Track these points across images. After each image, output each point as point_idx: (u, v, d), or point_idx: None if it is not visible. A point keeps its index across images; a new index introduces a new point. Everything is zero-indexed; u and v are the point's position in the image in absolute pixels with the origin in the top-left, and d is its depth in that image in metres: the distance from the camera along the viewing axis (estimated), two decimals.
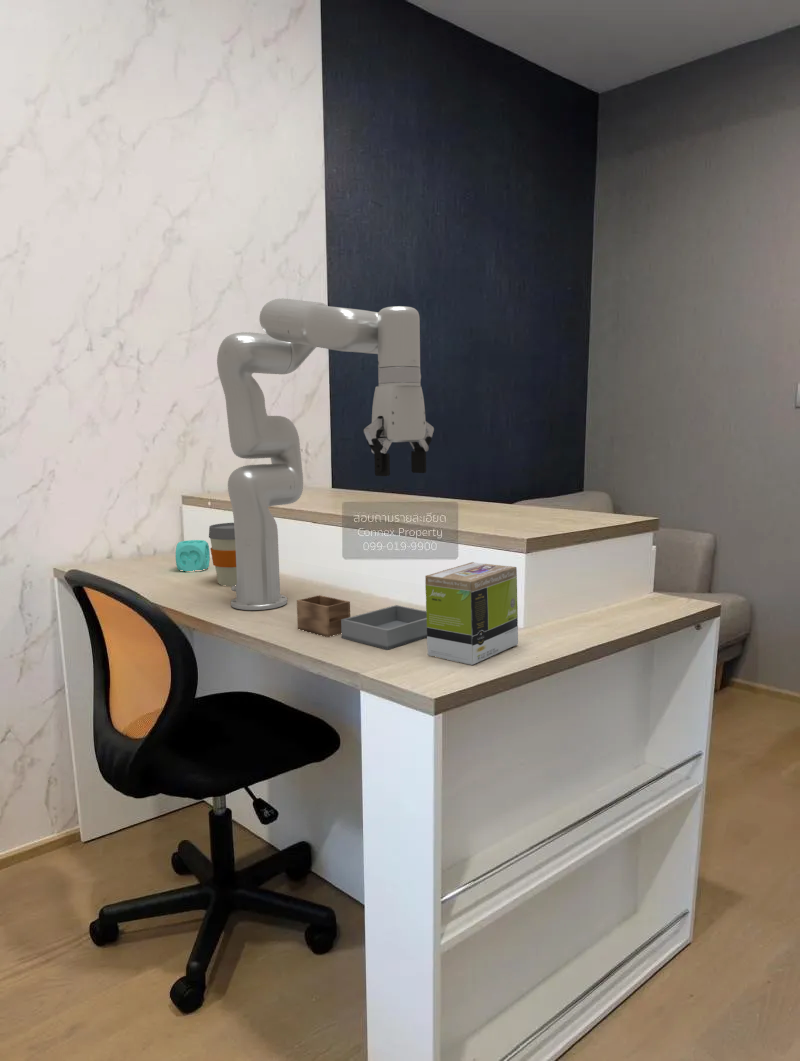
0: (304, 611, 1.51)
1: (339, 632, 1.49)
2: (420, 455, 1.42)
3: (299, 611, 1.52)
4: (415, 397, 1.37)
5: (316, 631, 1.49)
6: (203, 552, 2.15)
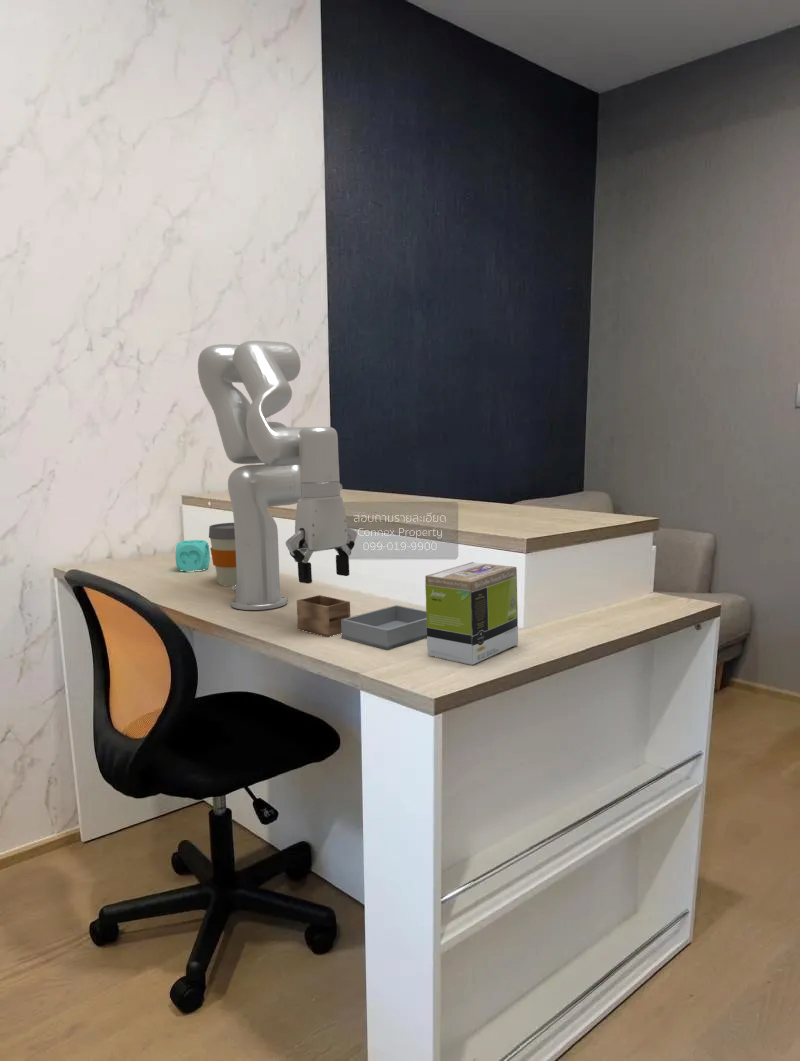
0: (304, 611, 1.51)
1: (339, 632, 1.49)
2: (343, 559, 1.52)
3: (299, 611, 1.52)
4: (335, 508, 1.48)
5: (316, 631, 1.49)
6: (203, 552, 2.15)
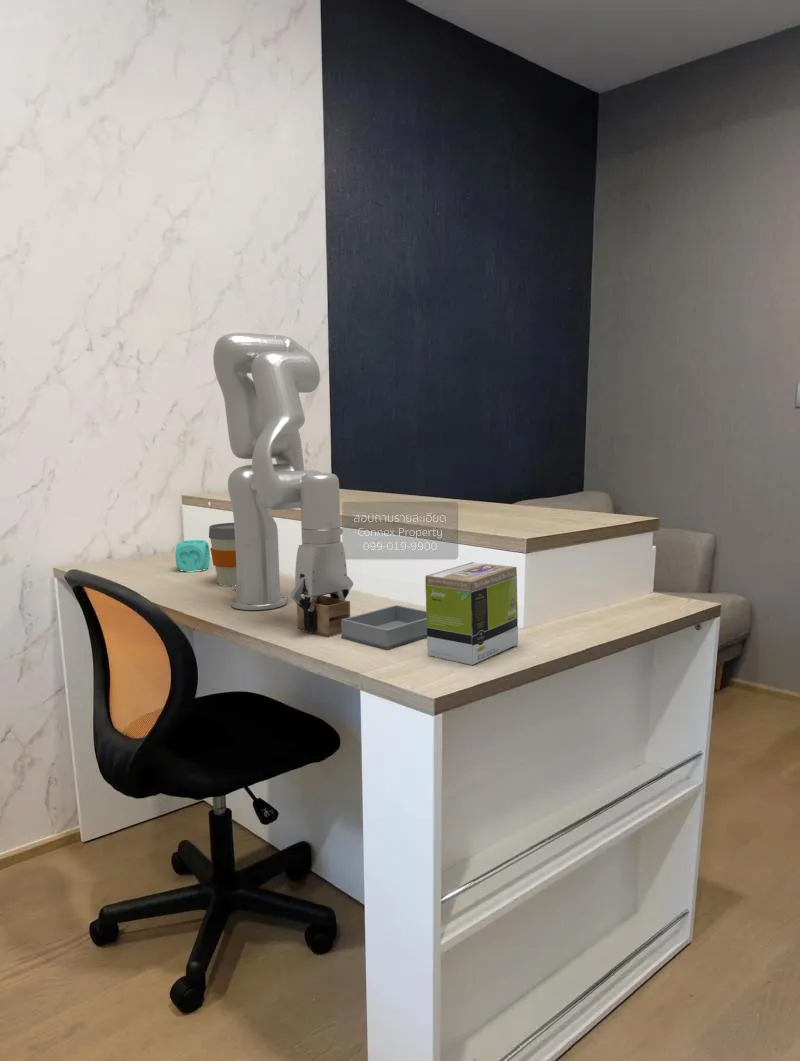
0: None
1: (339, 632, 1.49)
2: None
3: (299, 610, 1.52)
4: (336, 553, 1.49)
5: (316, 631, 1.49)
6: (203, 552, 2.15)
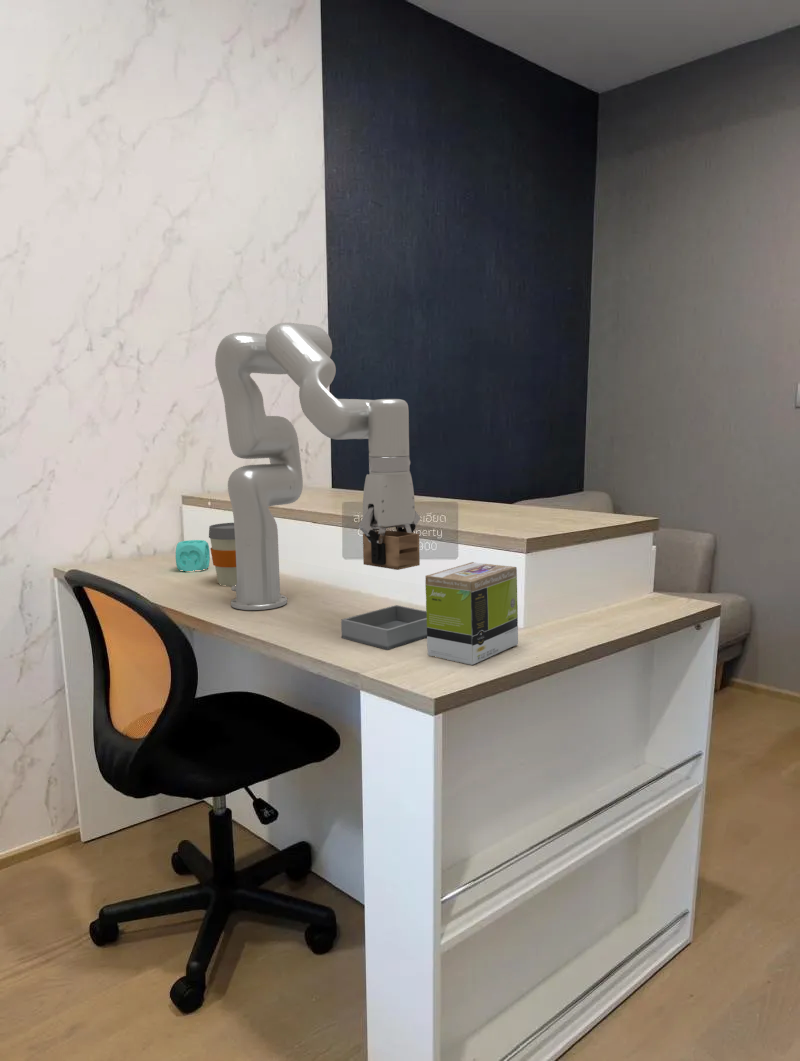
0: None
1: (408, 565, 1.43)
2: None
3: (366, 544, 1.45)
4: (405, 483, 1.43)
5: (385, 564, 1.43)
6: (203, 552, 2.15)
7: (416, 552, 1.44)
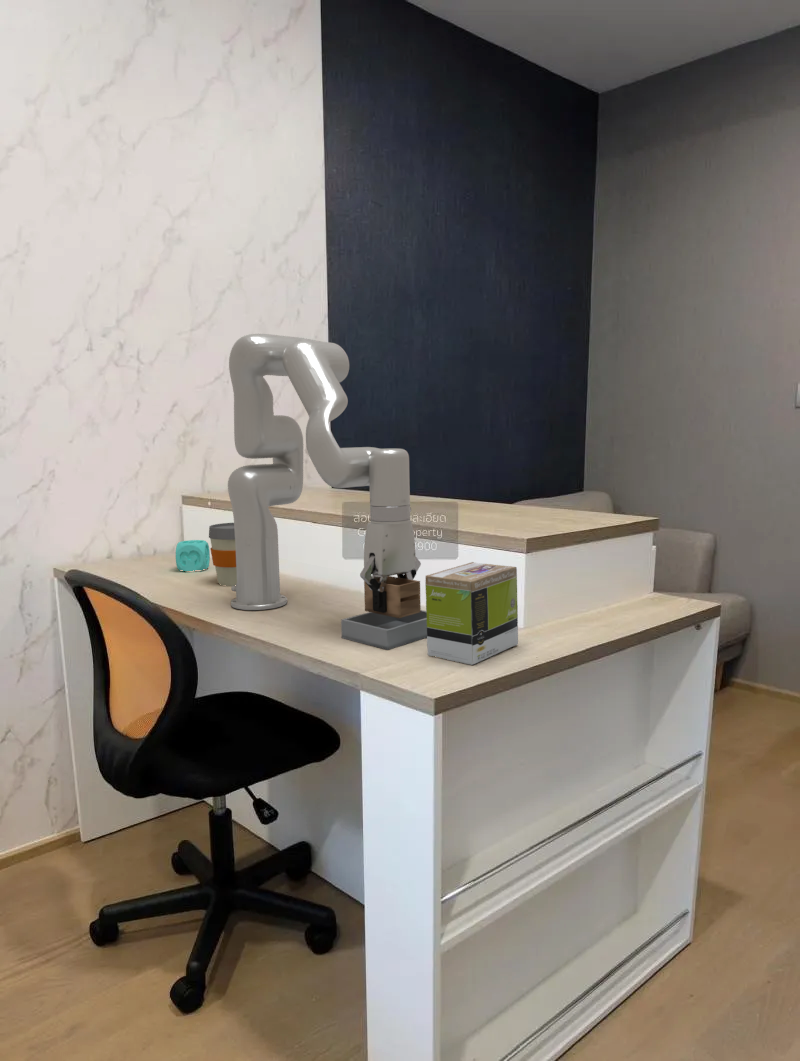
0: None
1: (410, 612, 1.44)
2: None
3: (367, 591, 1.47)
4: (405, 532, 1.44)
5: (386, 612, 1.44)
6: (203, 552, 2.15)
7: (417, 599, 1.45)
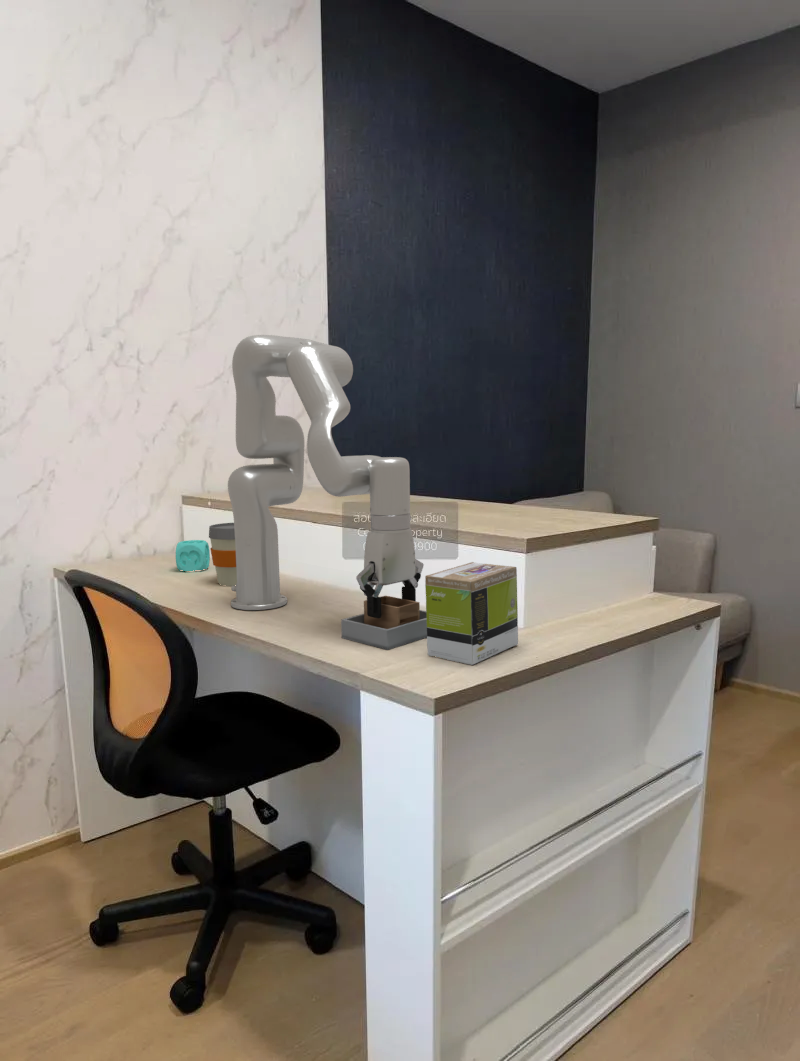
0: None
1: None
2: (410, 592, 1.49)
3: None
4: (405, 540, 1.45)
5: None
6: (203, 552, 2.15)
7: (416, 620, 1.46)
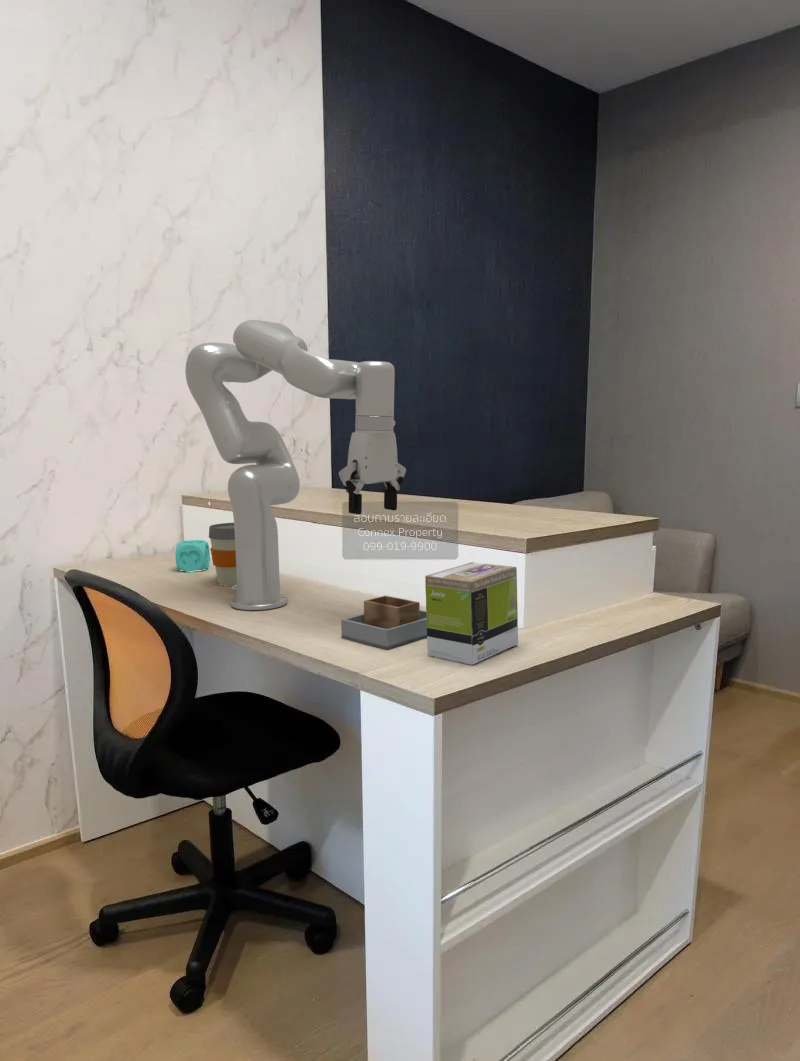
0: (372, 611, 1.46)
1: None
2: (391, 494, 1.56)
3: (367, 612, 1.47)
4: (388, 442, 1.51)
5: None
6: (203, 552, 2.15)
7: (416, 620, 1.46)
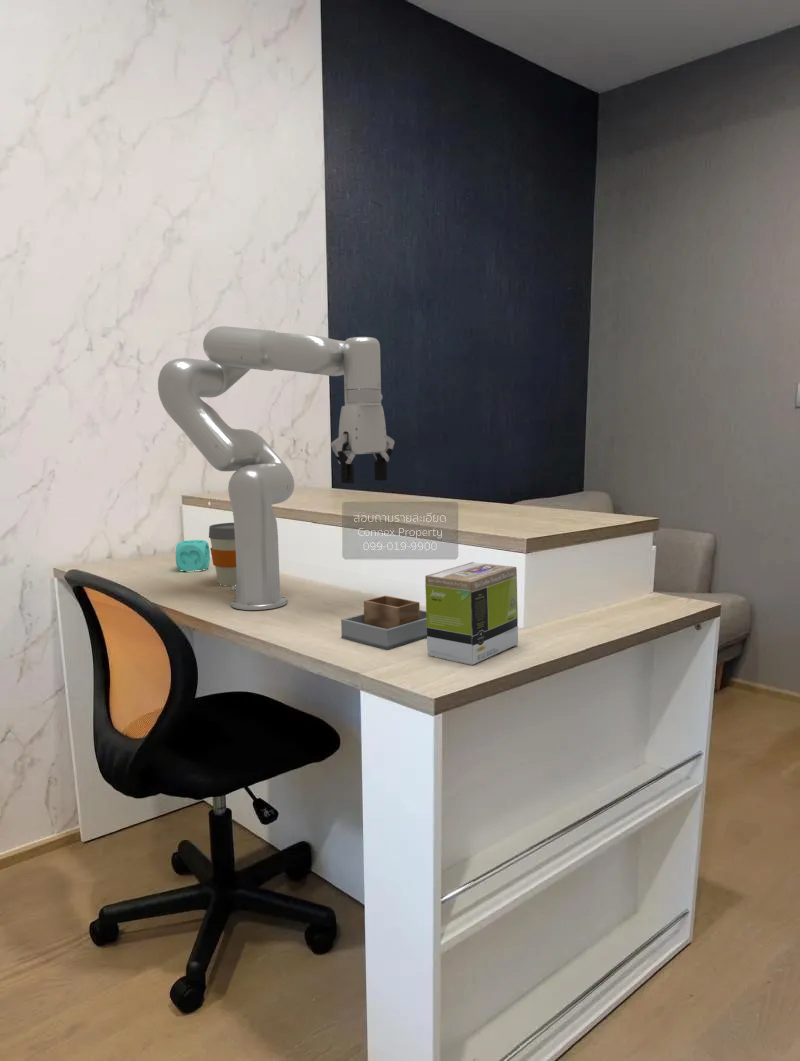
0: (372, 611, 1.46)
1: None
2: (382, 465, 1.63)
3: (367, 612, 1.47)
4: (377, 414, 1.59)
5: None
6: (203, 552, 2.15)
7: (416, 620, 1.46)
